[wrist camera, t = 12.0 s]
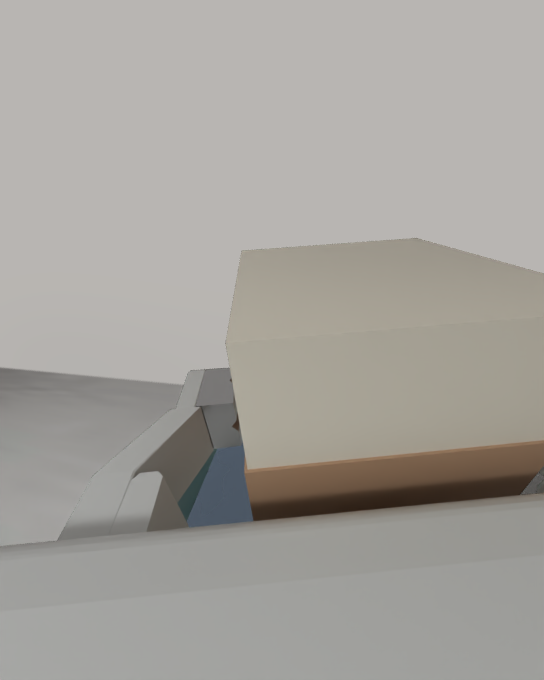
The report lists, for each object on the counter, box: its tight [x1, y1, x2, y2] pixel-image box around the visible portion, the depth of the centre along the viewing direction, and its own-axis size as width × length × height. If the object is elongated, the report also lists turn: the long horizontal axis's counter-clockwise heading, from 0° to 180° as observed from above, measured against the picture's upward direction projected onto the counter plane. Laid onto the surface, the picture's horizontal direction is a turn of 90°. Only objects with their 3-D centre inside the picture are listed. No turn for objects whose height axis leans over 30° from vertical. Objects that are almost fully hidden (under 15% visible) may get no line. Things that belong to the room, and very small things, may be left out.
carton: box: [225, 238, 544, 521], centre depth 8 cm, size 5×5×11 cm
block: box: [187, 440, 253, 528], centre depth 12 cm, size 9×12×4 cm
